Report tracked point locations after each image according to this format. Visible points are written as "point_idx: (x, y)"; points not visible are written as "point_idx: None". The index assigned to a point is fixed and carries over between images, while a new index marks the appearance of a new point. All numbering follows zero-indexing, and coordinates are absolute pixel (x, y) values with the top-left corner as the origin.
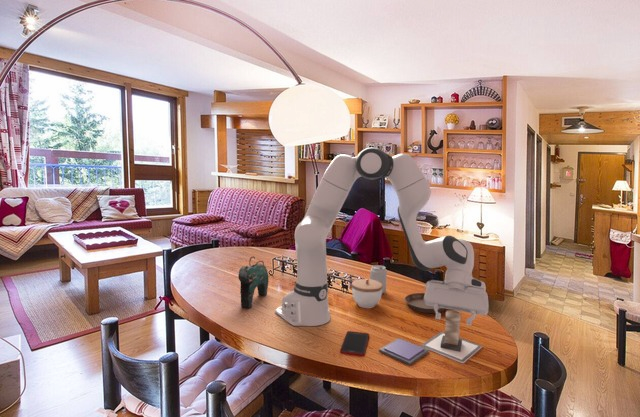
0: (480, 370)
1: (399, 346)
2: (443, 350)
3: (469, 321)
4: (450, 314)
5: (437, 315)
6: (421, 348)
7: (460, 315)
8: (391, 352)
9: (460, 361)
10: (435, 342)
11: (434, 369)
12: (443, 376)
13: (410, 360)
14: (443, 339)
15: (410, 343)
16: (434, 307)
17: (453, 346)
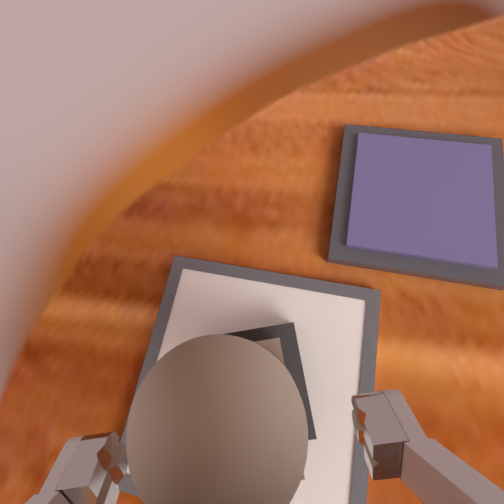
0: (113, 249)
1: (447, 195)
2: (271, 304)
3: (75, 449)
4: (235, 363)
5: (389, 406)
6: (357, 237)
7: (130, 413)
8: (444, 144)
9: (186, 258)
10: (333, 366)
11: (260, 159)
12: (222, 140)
13: (351, 138)
14: (295, 379)
15: (424, 253)
16: (501, 498)
17: (229, 333)
